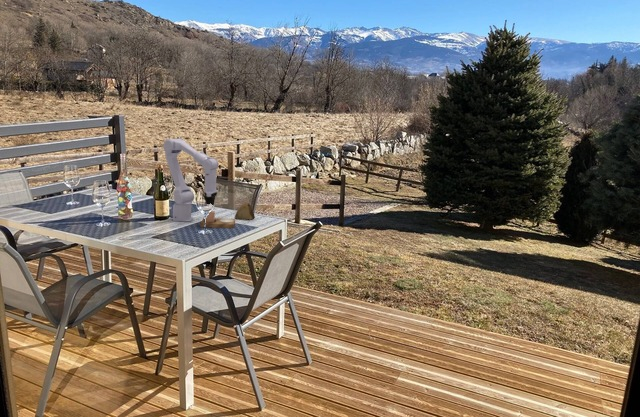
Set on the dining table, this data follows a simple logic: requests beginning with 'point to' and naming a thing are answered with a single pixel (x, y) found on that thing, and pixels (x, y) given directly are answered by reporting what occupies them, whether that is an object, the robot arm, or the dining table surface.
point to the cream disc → (226, 220)
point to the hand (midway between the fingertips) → (210, 207)
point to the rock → (245, 212)
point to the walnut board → (217, 224)
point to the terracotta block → (211, 217)
